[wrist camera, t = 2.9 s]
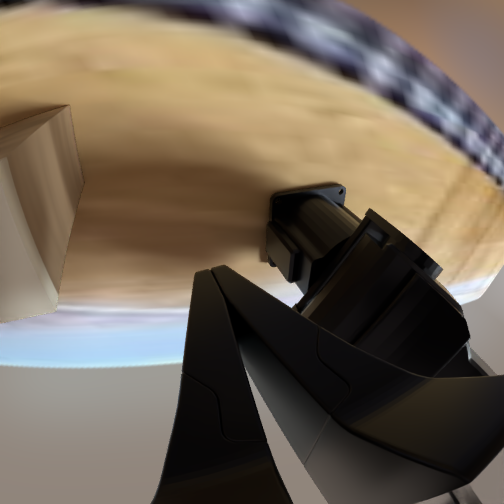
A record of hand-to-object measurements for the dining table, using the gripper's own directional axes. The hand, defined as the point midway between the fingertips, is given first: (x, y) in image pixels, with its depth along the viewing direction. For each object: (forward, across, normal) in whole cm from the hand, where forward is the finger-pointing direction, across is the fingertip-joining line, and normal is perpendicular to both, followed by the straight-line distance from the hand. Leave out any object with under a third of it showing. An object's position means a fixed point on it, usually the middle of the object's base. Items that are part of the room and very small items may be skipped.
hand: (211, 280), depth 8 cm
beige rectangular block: (+12, +7, -2) cm, 14 cm away
